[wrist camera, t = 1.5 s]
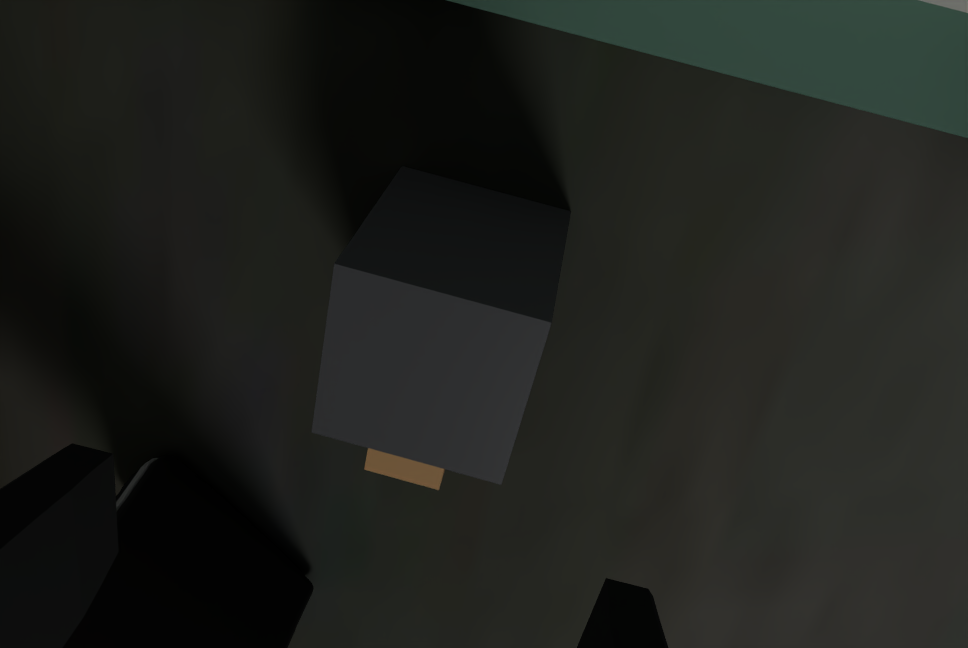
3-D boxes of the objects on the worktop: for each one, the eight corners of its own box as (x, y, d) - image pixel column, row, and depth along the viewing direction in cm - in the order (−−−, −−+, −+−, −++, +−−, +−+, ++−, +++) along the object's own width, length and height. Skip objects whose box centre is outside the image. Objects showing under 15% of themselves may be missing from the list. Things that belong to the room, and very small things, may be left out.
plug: (570, 211, 19) (551, 322, 15) (523, 370, 21) (495, 505, 17) (401, 165, 19) (334, 263, 15) (373, 329, 22) (309, 454, 17)
